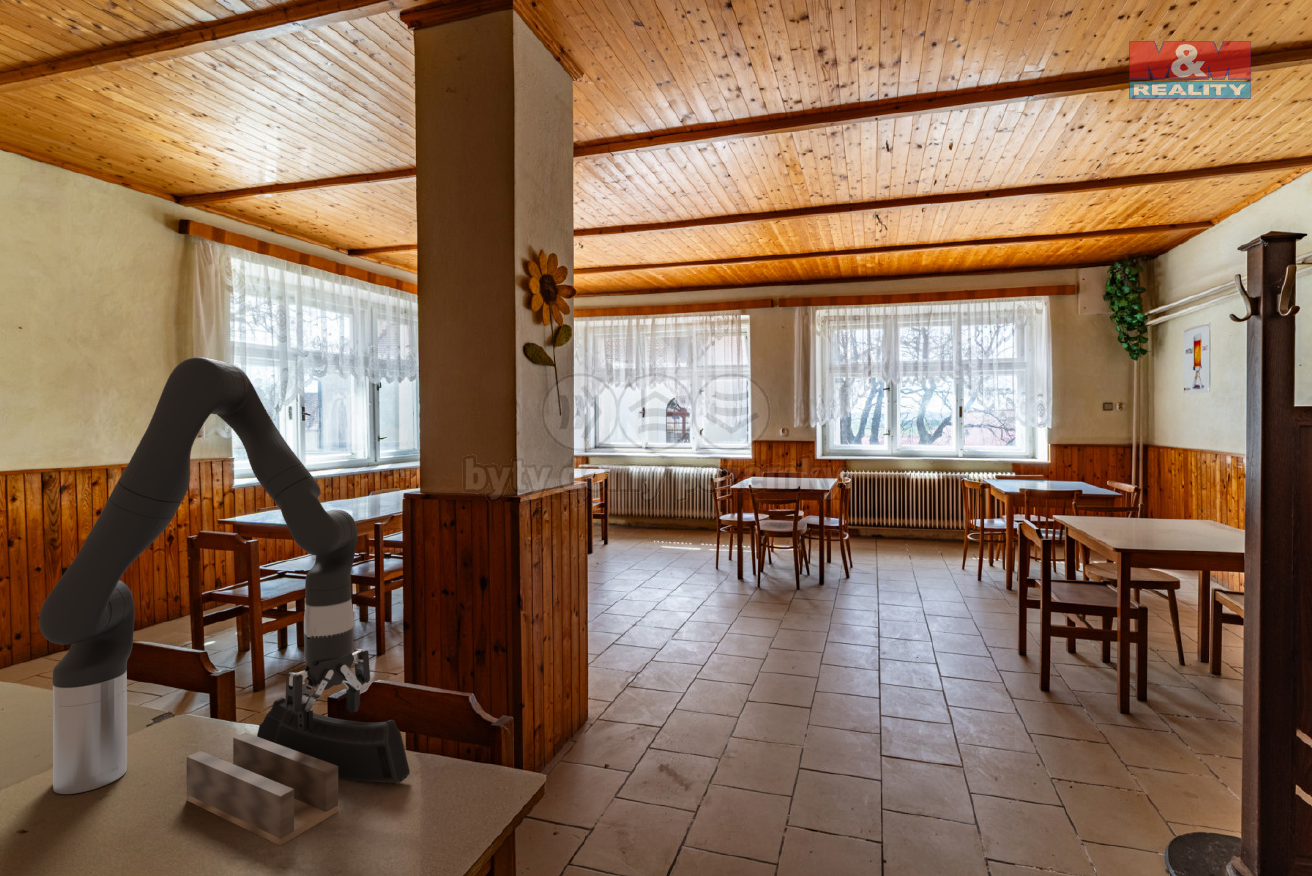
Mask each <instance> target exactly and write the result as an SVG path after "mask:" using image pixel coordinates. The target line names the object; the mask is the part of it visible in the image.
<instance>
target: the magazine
mask: <svg viewBox="0 0 1312 876" xmlns="http://www.w3.org/2000/svg"><path fill="white" fill-rule="evenodd" d="M285 699H286V697H285V698H284V697H279V698H278V699H275V700H274V701H273V703H272V707H271V709H270V710H269V711H268V712H267V713H266V715H265V716H264V719H263V721H262V722H261V723H260V724H259V727H258V730H257V734H256V736H257V737H260V738H262V739H265V740H268V741H271V742H273V743H276V744H279V745H281V746H284V747H287V748H290V749H292V750H295V751H298V752H301V753H303V754H306V755H309V756H312V757H314V758H317V759H320V760H323V761H325V762H328V763H331V764H333V765H336V766H338V780H343V781H351V782H363V783H364V782H367V783H368V782H369V783H394V784H395V785H396V784H399V783H401V782H403V781H405V779H407V778H408V776H409V775H410V773H411V770H410V767H409V762H408V758H407V755H406V749H405V745H404V741H403V738H402V737H403V736H402V733H401V730H400V729H399V728H398V727H397V724H396V721H395V720H394V719H389V720H387V721H381V722H364V721H357V720H349V719H348V720H347V719H340V718H333V717H330V716H328V715H327V716H326V715H323V714H318V713H315V712H313V731H312V732H310V733H305V732H302V731H301V730H300V729H299V727H298V712H294V711H292V710H288V709H286V708H285Z"/></svg>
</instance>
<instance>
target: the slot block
mask: <svg viewBox="0 0 1312 876" xmlns="http://www.w3.org/2000/svg"><path fill="white" fill-rule="evenodd" d="M232 742H233V743H232V744H233V745H232V747H233V749H232V751H233V755H232V758H233V759H232V763H231V762H229V761H227V760H224V759H221V758H219V757H217V756H214V755H212V754H209V753H207V752H204V751H202V750H198V751H197V752H195V753H194V752H193V753H192V754H190V755H187V756H186V801H187V802H189V803H192V804H194V805H195V806H197V807H199V808H200V809H203V810H205V811H208V812H209V813H211V814H214V815H216V816H218V817H220V818H222V819H224V820H226V821H228V822H230V823H232V824H234V825H236V826H238V827H241V828H242V829H245V830H247V831H249V832H250V833H251V832H252V833H253V834H255V835H257V836H259V837H261V838H264V839H265V840H268V841H270V842H272V843H274V844H276V845H278V846H279V847H280V846H283V845H285V844H286V843H288V842H289V841H292V840H294V838H296V837H298V836H301V834H303V833H304V832H306V831H308V830H309V829H312V828H313V827H315V826H316V825H318V824H320V823H321V822H323V821H325V820H327V819H329V818H330V817H331V816H333V815H335V814H336V813H338V812H339V779H338V766H336V765H333V764H331V763H328V762H325V761H323V760H320V759H317V758H314V757H312V756H309V755H306V754H303V753H301V752H298V751H295V750H292V749H290V748H287V747H284V746H281V745H279V744H276V743H273V742H271V741H268V740H265V739H262V738H260V737H257V735H254V734H250V733H248V732H243V733H240V734H238V735H236V736H233V738H232Z"/></svg>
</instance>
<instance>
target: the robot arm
mask: <svg viewBox="0 0 1312 876" xmlns="http://www.w3.org/2000/svg"><path fill="white" fill-rule="evenodd" d="M159 397H160V398H159V399H158V402H157V404H156V407H155V409H154V412H153V415H152V417H151V419H150V421H149V423H148V426H147V428H146V430H145V431H144V434H143V436H142V437H141V440H140V441H139V443H138V445H137V447H136V449H135V451H134V453H133V455H132V456H131V459H130V460H129V462H128V464H127V465H126V467H125V468H124V470H123V472H122V474H121V475H120V476H119V479H118V480H117V482H116V484H115V486H114V487H113V489H112V491H111V492H110V495H109V497H108V498H107V501H106V502H105V505H104V507H103V509H102V511H101V512H100V515H99V516H98V518H97V520H96V521H95V523H94V525H93V526H92V528H91V530H90V531H89V533H88V535H87V537H86V539H85V541H84V542H83V544H82V546H81V548H80V549H79V551H78V552H77V553H78V554H77V555H76V556H75V557H74V560H73V561H72V562H71V564H70V565H69V566H68V567H67V569H66V571H65V572H64V573H63V574H62V576H61V577H60V579H59V581H58V582H57V583H56V584H55V586H54V587H53V589H52V590H51V591H50V592H49V594H48V595H47V597H46V598H45V600H44V602H43V604H42V606H41V609H40V611H39V616H38V626H39V630H40V632H41V635H42V636H43V638H45V639H46V640H47V641H48V642H51V643H52V644H54V645H55V644H56V645H61V646H62V645H64V646H65V645H67V646H68V645H69V646H70V648H69V649H68V651H67V652H66V654H65V655H64V656H63V657H62V658H61V659H60V661H58V662H57V663H56V665H55V666H54V667H53V670H52V789H53V792H54V793H56V794H60V795H73V794H79V793H84V792H89V791H92V790H96V789H99V788H102V787H104V786H107V785H108V784H111V783H113V782H115V781H117V780H119V779H120V778H121V777H122V776H124V775H125V774H126V772H127V770H128V767H127V766H128V681H127V680H128V679H127V676H128V675H127V673H128V672H127V671H128V670H127V669H128V668H127V665H128V664H127V663H128V660H129V658H130V656H131V653H132V650H133V645H134V630H135V613H136V612H135V601H134V596H133V593H132V591H131V589H130V588H129V586H128V585H127V584H126V583H125V582H123V581H122V580H121V578H122V576H123V575H124V574H125V572H126V571H127V570H128V568H129V567H130V566H131V564H133V562H135V561H136V560H137V559H138V558H139V557H140V556H141V555H142V554H143V552H145V551H146V550H147V549H148V548H149V547H150V546H151V544H153V543H154V541H156V539H158V537H160V536H161V534H162V533H163V532H164V531H165V530H166V528H167V527H168V526H169V525H170V523H172V521H173V519H174V518H175V515H176V513H177V511H178V510H179V508H180V506H181V504H182V503H183V501H184V498H185V497H186V494H187V492H188V490H189V488H190V487H189V486H190V482H191V481H190V480H191V453H192V448H193V446H194V443H195V441H196V438H197V437H198V435H199V433H200V431H201V429H202V428H203V426H204V424H205V423H206V421H207V419H208V418H209V417H210V415H211V414H212V415H217V416H218V417H219V418H220V419H221V420H222V421H224V422H225V423H226V424H227V425H228V426H229V428H231V429H232V431H234V433H235V434H236V435H237V437H238V438H239V439H240V441H241V444H242V445H243V448H244V450H245V453H246V456H247V460H248V462H249V465H250V468H251V470H252V473H253V474H254V476H255V478H256V480H257V481H258V483H259V485H261V487H262V488H263V489H264V491H265V492H266V493H267V494H268V495H269V497H270V498H271V499H272V501H273V502H274V503H275V505H277V507H278V508H279V510H280V512H281V514H282V518H283V520H284V522H285V524H286V527H287V529H288V530H289V533H290V535H291V537H292V539H293V540H294V542H295V544H297V546H298V547H299V548H300V549H301V550H302V551H304V552H306V553H308V554H309V555H311V556H315V562H314V565H313V566H312V568H310V570H308V572H307V573H306V576H305V582H304V586H305V587H304V590H305V591H304V592H305V594H304V595H305V598H304V600H305V601H304V602H305V606H304V607H305V608H304V613H303V614H304V616H303V640H304V641H303V642H304V643H303V644H304V647H303V648H304V651H303V652H304V658H305V662H306V664H305V667H304V670H302V671H301V670H300V671H299V672H293V671H290V672H288V673H287V675H286V679H285V680H286V681H285V708H286V709H288V710H292V711H294V712H298V727H299V729H300V730H301V731H302V732H305V733H310V732H312V731H313V713H314V710H313V709H312V708H313V706H314V704H315V702H317V701H316V700H317V699H318V698H320V697H321V696H322V694H323V692H324V691H327V690H329V689H331V688H332V687H334V686H338V685H342V683H343V685H345V687H346V688H348V689H346V691H345V693H346V694H345V695H346V697H345V698H346V700H345V701H346V704H345V705H346V710H347V712H351V713H356V712H358V711H359V707H360V705H361V689H362V686H363V685H365V684H367V683H369V682H370V680H371V670H370V658H369V657H370V656H369V653H370V652H369V650H367V649H361V648H355V647H354V609H353V604H352V568H353V564H354V560H355V557H356V556H355V555H356V549H357V543H358V527H357V523H356V521H355V519H354V518H353V516H352V515H351V514H350V513H349V512H347V511H346V510H342V509H331V510H325V508H324V506H323V504H322V503H321V502H320V499H319V497H320V495H321V491H322V490H321V487H320V485H319V483H318V482H317V480H316V479H315V478H314V477H313V475H312V474H311V472H310V471H309V470H308V469H307V468H306V466H305V465H304V464H303V462H302V461H301V460H300V458H299V457H298V456H297V455H296V454H295V452H294V451H293V450H292V448H291V447H290V446H289V444H288V443H287V442H286V440H285V438H284V437H283V435H282V434H281V432H280V431H279V429H278V428H277V426H276V425H275V422H274V421H273V419H272V418H271V416H270V415H269V413H268V410H267V409H266V408H265V405H264V404H263V402H262V400H261V398H260V396H259V395H258V392H257V390H256V389H255V387H254V385H253V383H252V381H251V380H250V378H249V376H248V375H247V374H246V373H245V371H243V369H241V368H240V367H239V366H237V365H234V364H232V363H229V362H226V361H222V360H219V359H218V360H217V359H213V358H207V357H203V356H195V357H194V356H193V357H189V358H187V359H185V360H183V361H181V362H180V363H178V364H177V365H176V366H175V367H174V369H173V370H172V371H171V372H170V375H169V376H168V378H167V380H166V382H165V385H164V387H163V390H162V393H161V394H160V396H159ZM354 648H355V649H354ZM353 663H354V673H353V671H351V667H352V665H353ZM306 679H307V680H306ZM305 680H306V681H305ZM303 685H304V686H303ZM313 687H314V689H313ZM312 689H313V690H312Z"/></svg>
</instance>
